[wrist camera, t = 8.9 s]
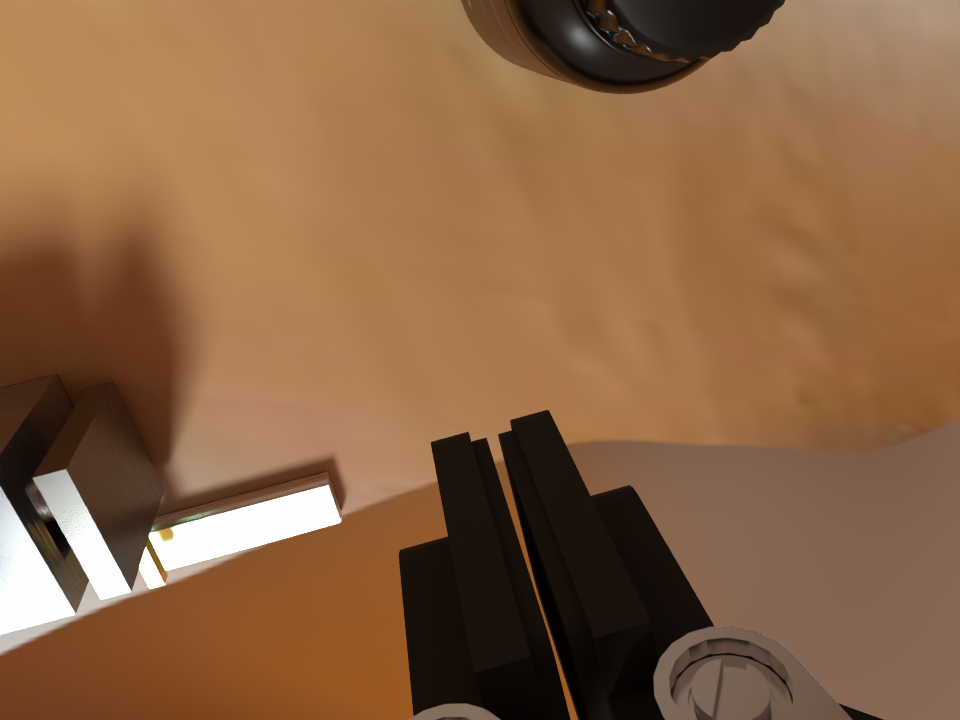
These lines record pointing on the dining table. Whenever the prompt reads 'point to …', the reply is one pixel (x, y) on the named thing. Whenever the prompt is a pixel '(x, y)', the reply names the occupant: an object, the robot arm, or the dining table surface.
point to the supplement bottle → (616, 37)
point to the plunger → (102, 493)
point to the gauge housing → (175, 537)
